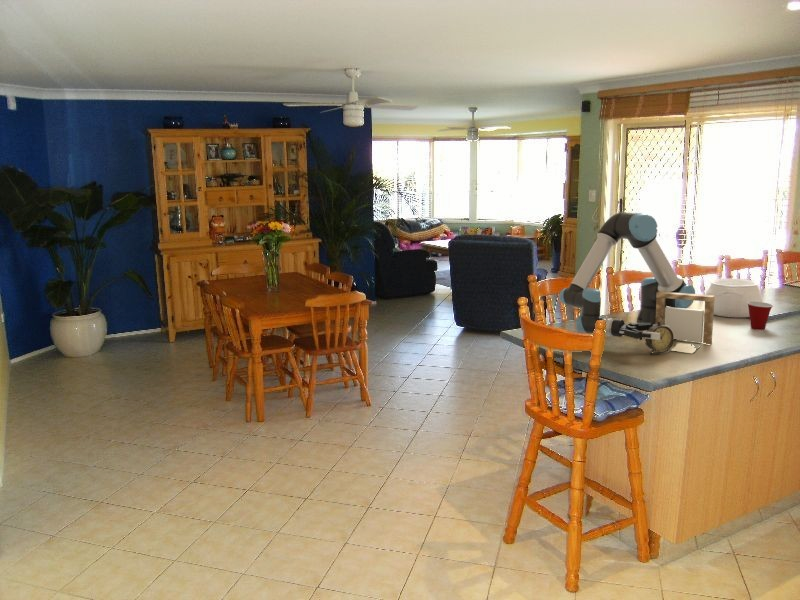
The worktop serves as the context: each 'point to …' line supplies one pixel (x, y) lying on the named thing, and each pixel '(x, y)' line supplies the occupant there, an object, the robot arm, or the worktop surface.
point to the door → (685, 323)
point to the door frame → (697, 297)
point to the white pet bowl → (734, 296)
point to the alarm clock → (665, 338)
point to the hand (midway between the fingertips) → (664, 332)
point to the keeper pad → (695, 345)
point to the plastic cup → (759, 314)
